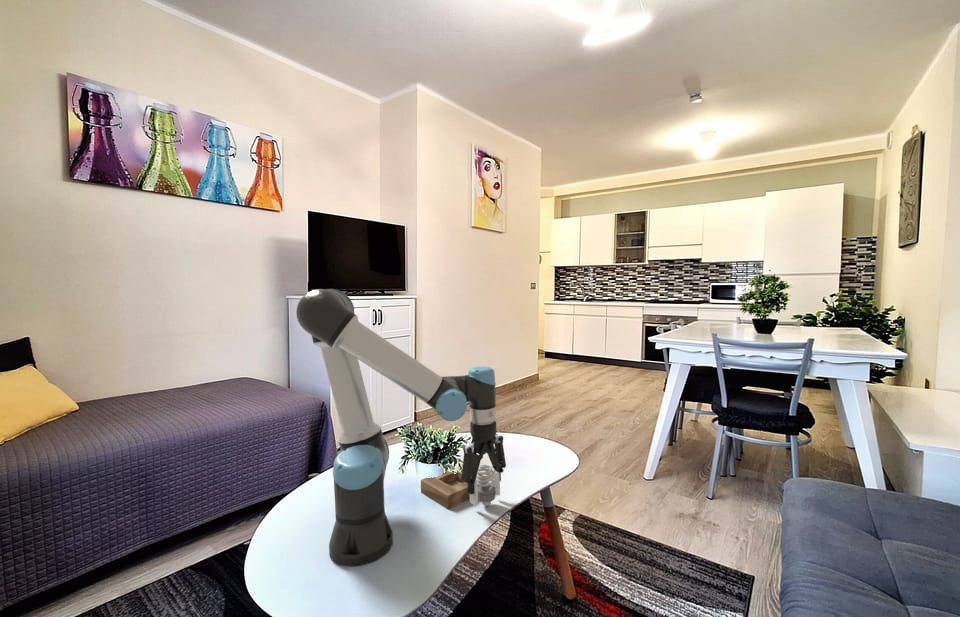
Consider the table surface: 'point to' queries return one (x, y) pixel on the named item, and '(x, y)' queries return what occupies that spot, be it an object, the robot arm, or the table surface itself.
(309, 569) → the table surface
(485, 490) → the light bulb
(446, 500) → the socket board
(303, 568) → the table surface
